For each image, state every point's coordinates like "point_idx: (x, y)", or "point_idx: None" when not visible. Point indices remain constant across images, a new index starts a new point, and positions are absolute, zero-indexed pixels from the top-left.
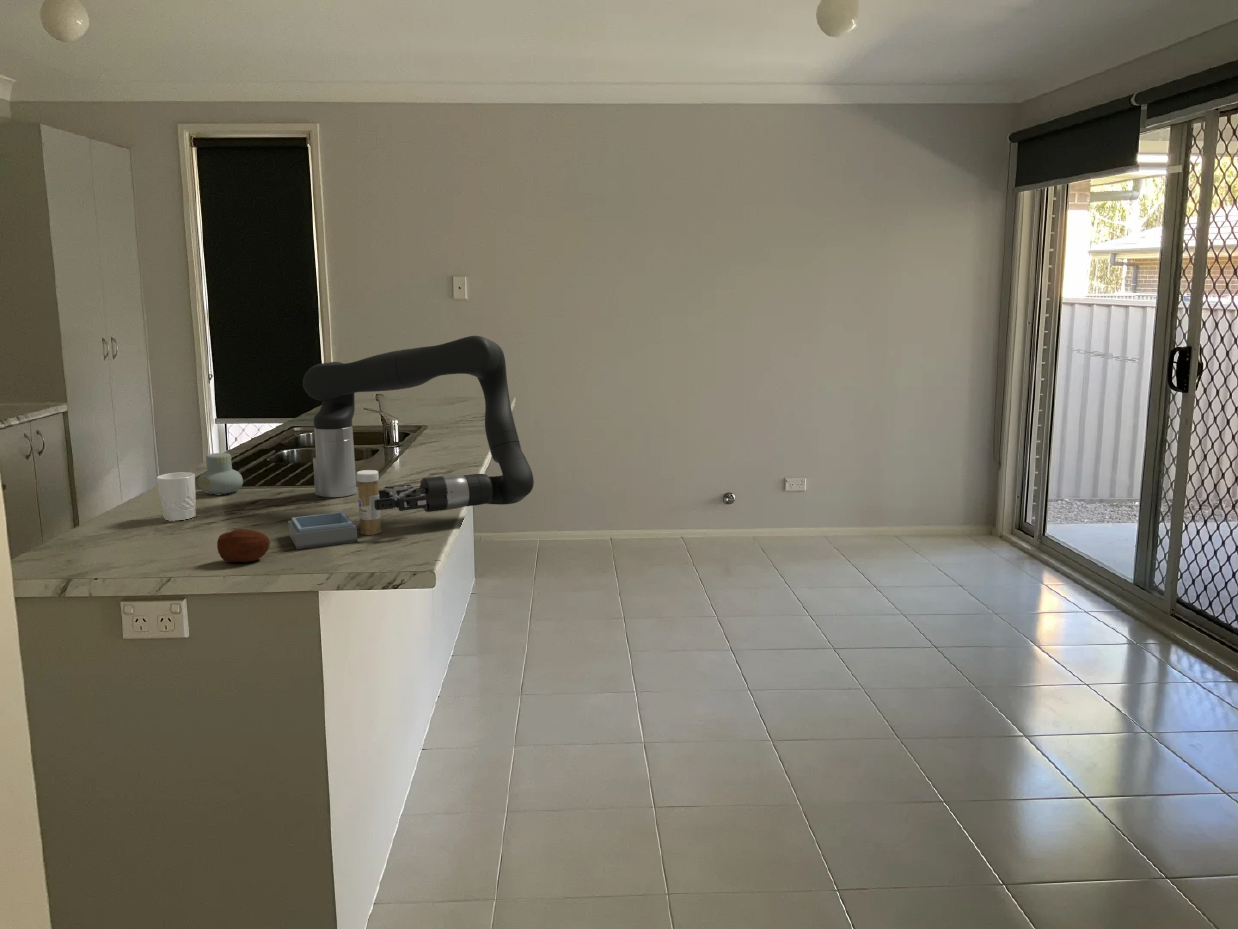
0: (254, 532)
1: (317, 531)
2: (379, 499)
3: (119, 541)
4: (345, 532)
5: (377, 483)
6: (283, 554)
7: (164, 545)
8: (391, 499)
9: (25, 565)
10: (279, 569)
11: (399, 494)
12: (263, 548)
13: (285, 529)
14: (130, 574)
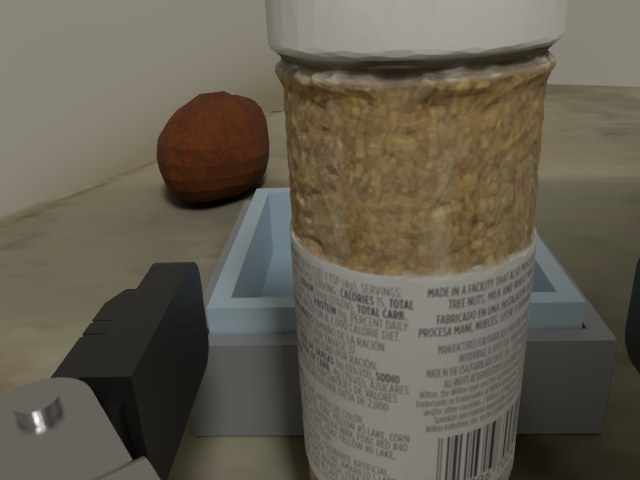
0: (187, 114)
1: (229, 236)
2: (158, 279)
3: (556, 108)
4: None
5: (340, 109)
6: (215, 240)
7: None
8: (91, 380)
9: None
10: (44, 230)
11: (140, 461)
12: (161, 171)
13: (633, 255)
14: (269, 124)
